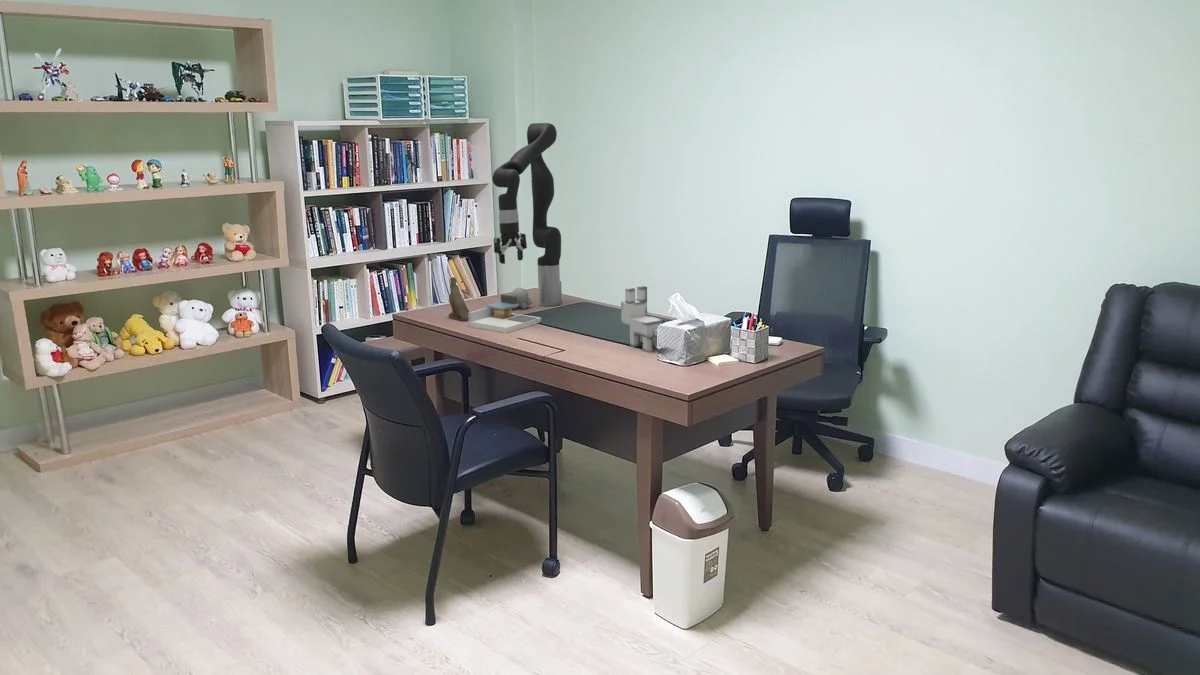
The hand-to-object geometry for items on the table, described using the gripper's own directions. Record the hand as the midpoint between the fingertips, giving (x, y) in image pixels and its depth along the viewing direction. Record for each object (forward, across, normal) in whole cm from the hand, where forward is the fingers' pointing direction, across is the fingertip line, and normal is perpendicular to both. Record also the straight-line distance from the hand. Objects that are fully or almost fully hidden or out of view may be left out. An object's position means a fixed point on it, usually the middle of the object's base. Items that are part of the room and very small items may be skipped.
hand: (511, 261), depth 346 cm
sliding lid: (+17, +7, +2) cm, 18 cm away
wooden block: (+22, +7, +2) cm, 24 cm away
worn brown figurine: (+22, +16, -14) cm, 31 cm away
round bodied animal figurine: (+23, -10, -12) cm, 28 cm away
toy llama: (+23, -4, +70) cm, 73 cm away
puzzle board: (+22, +10, +7) cm, 26 cm away
